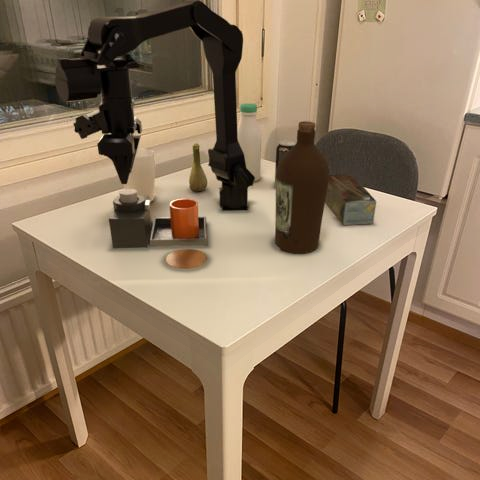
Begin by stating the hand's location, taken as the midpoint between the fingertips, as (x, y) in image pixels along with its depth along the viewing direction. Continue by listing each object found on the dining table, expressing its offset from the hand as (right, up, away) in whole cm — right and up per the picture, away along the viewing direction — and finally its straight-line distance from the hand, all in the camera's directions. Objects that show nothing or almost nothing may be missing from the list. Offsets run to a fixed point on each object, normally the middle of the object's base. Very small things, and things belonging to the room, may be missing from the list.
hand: (126, 178), depth 100 cm
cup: (-2, +2, +26) cm, 26 cm away
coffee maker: (0, -11, +7) cm, 13 cm away
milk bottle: (+25, +12, +41) cm, 50 cm away
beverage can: (+36, +8, +36) cm, 51 cm away
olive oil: (+36, -13, +5) cm, 38 cm away
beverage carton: (+50, -2, +22) cm, 55 cm away
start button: (0, -4, +3) cm, 5 cm away
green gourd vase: (+12, +6, +33) cm, 35 cm away
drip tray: (+10, -10, +8) cm, 17 cm away
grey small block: (+4, -6, +4) cm, 8 cm away
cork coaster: (+13, -17, -2) cm, 21 cm away
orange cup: (+11, -10, +8) cm, 17 cm away
